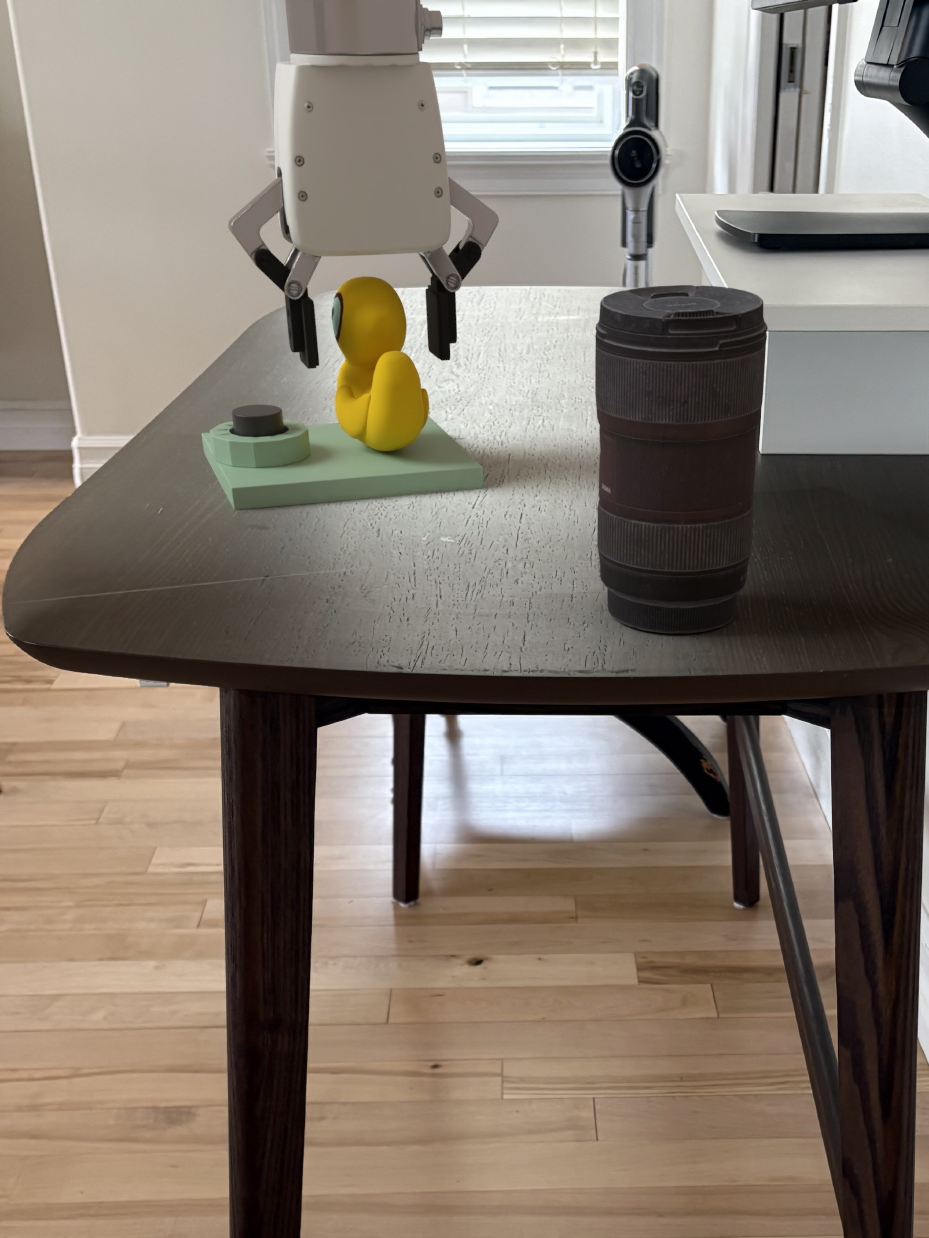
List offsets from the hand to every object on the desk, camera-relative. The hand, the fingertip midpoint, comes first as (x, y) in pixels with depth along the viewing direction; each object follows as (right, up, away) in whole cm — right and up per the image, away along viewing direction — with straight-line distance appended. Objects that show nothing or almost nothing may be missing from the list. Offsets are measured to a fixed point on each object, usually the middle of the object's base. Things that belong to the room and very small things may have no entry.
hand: (375, 359), depth 97 cm
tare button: (-7, -5, 0) cm, 9 cm away
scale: (-3, -6, +3) cm, 7 cm away
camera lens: (+18, -22, -18) cm, 34 cm away
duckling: (0, -5, +3) cm, 6 cm away
